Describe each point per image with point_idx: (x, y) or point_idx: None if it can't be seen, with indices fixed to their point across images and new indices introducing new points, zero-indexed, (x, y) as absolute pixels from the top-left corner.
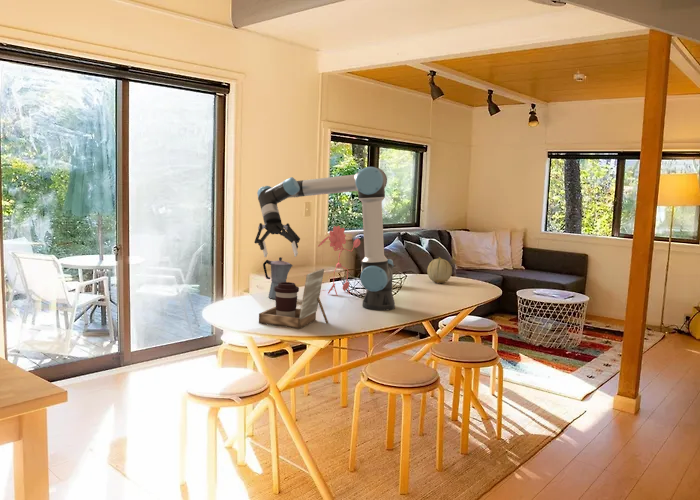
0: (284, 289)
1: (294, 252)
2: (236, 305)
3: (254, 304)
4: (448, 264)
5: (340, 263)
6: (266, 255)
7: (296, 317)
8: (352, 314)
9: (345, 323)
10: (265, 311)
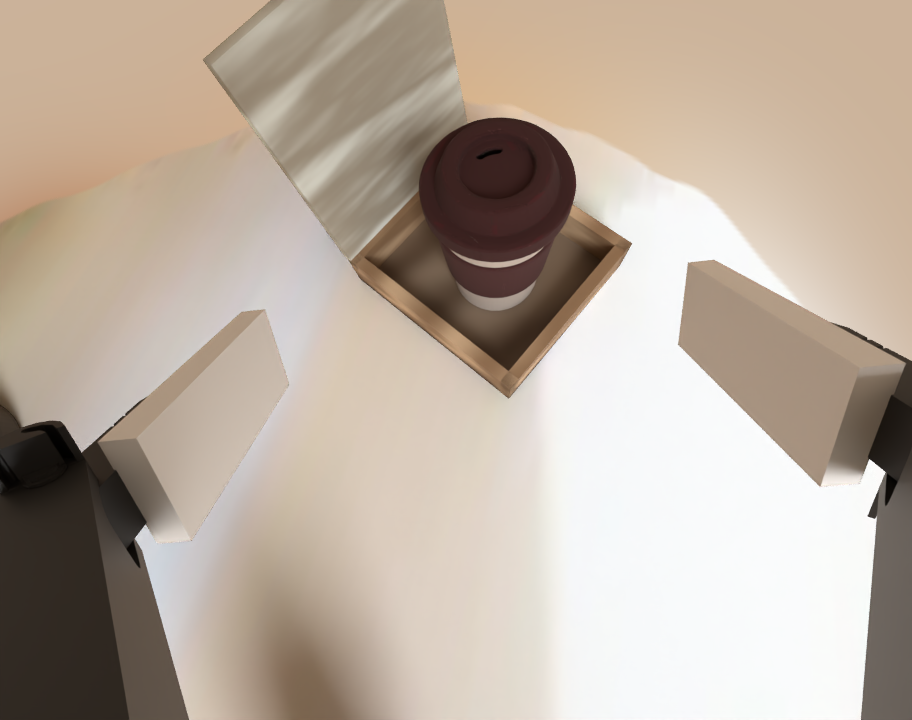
0: (526, 122)
1: (264, 382)
2: (704, 691)
3: (586, 697)
4: None
5: None
6: (689, 306)
7: (437, 302)
8: (155, 353)
9: (262, 216)
10: (594, 279)
